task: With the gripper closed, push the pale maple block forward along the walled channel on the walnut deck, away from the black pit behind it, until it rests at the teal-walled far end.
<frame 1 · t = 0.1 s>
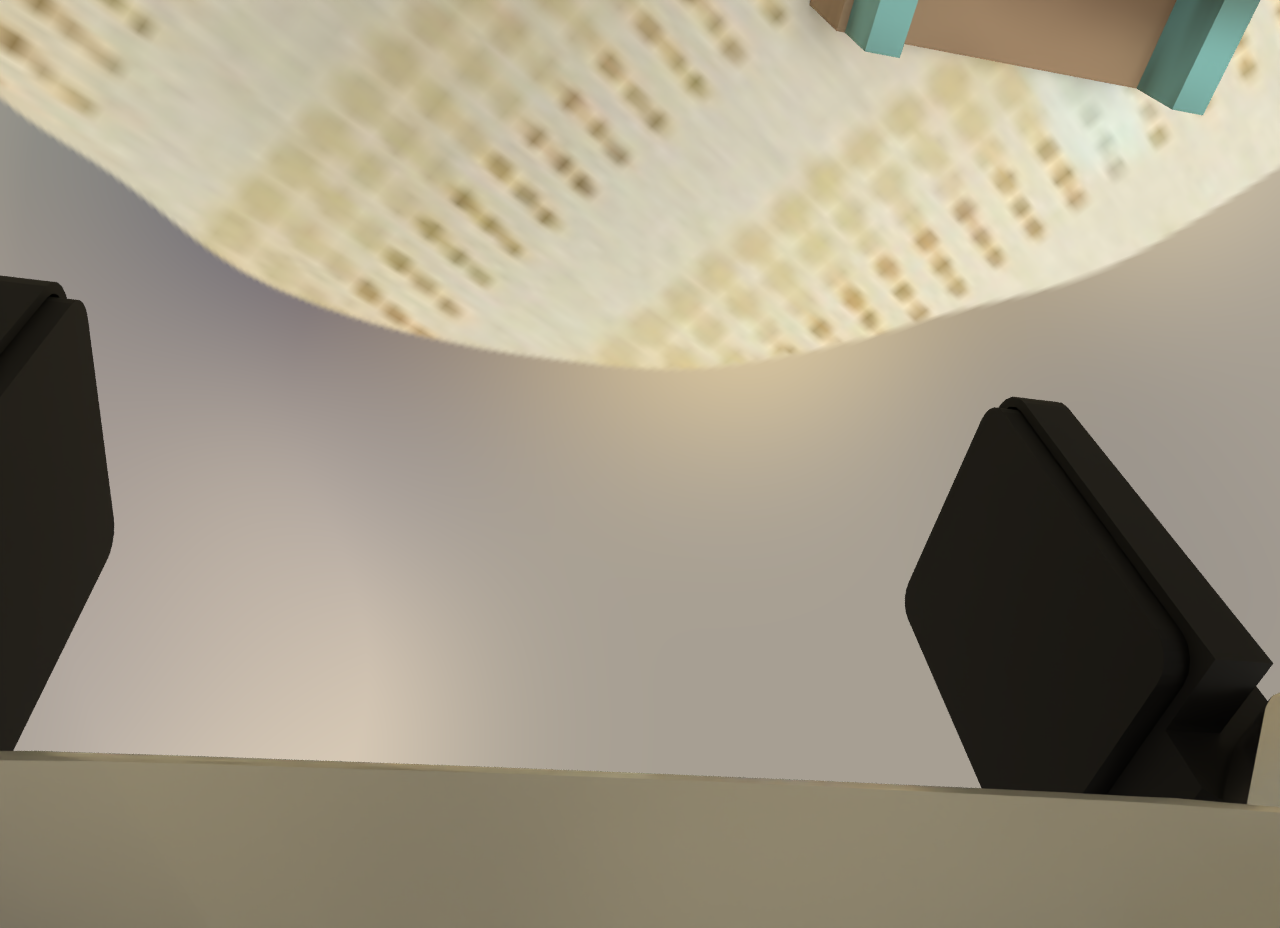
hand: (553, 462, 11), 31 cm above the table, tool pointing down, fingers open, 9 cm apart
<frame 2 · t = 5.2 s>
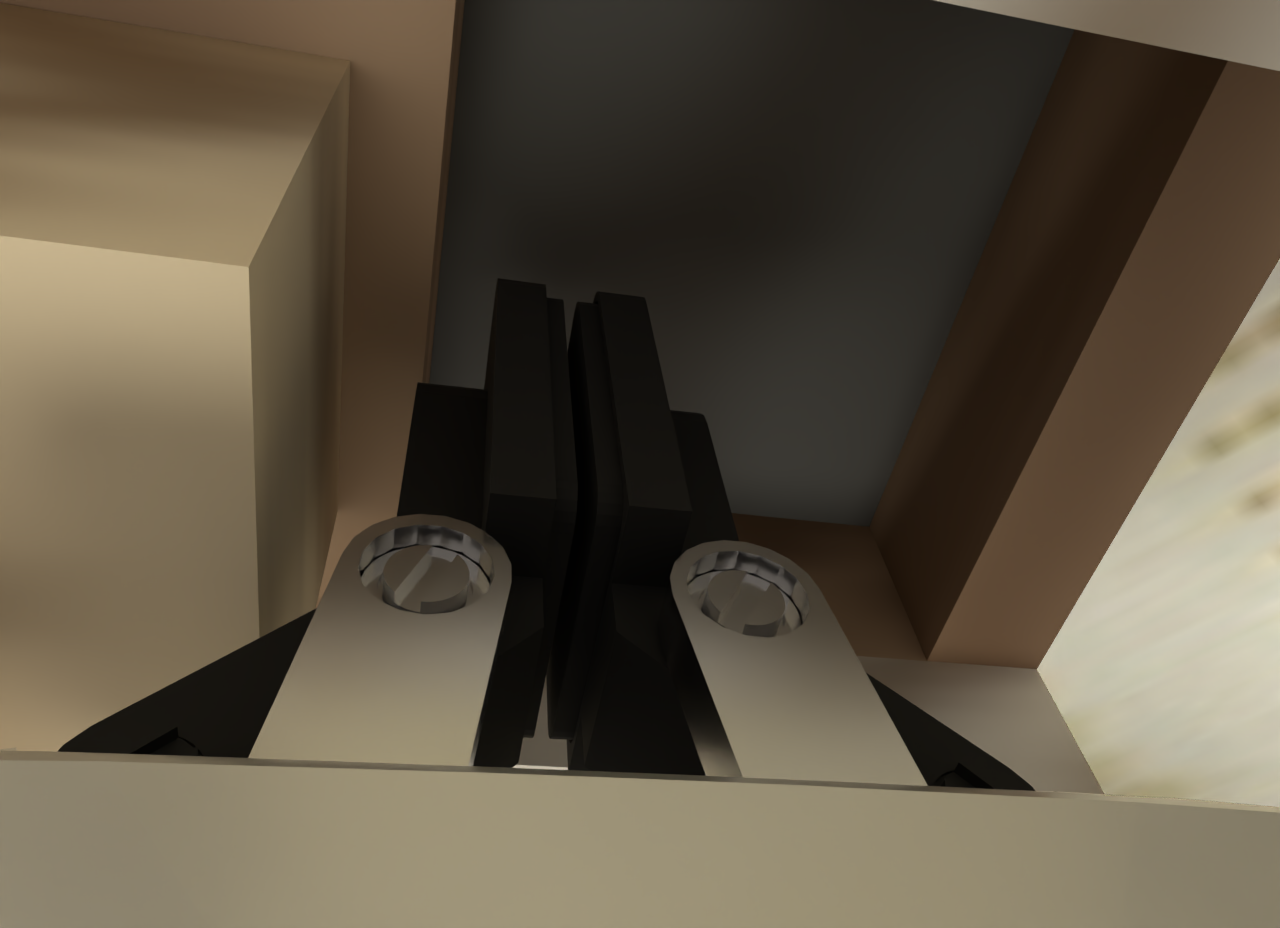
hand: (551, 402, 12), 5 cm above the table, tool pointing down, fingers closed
maple block: (73, 284, 12), point 4 cm above the table, touching gripper
trap deck: (59, 145, 15), on the table
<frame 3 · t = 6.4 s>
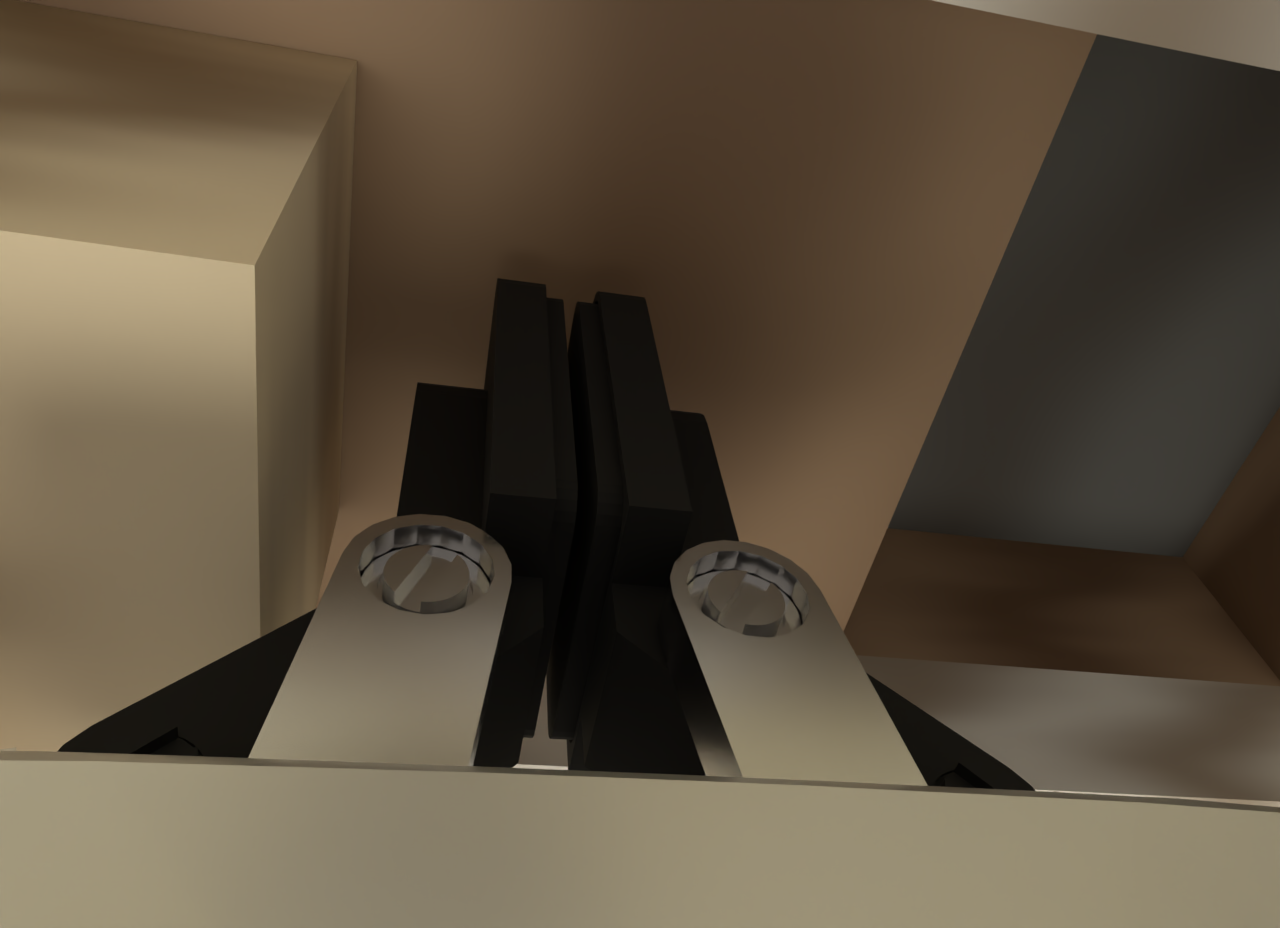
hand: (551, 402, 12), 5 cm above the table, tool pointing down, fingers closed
maple block: (78, 280, 12), point 4 cm above the table, touching gripper
trap deck: (535, 217, 16), on the table
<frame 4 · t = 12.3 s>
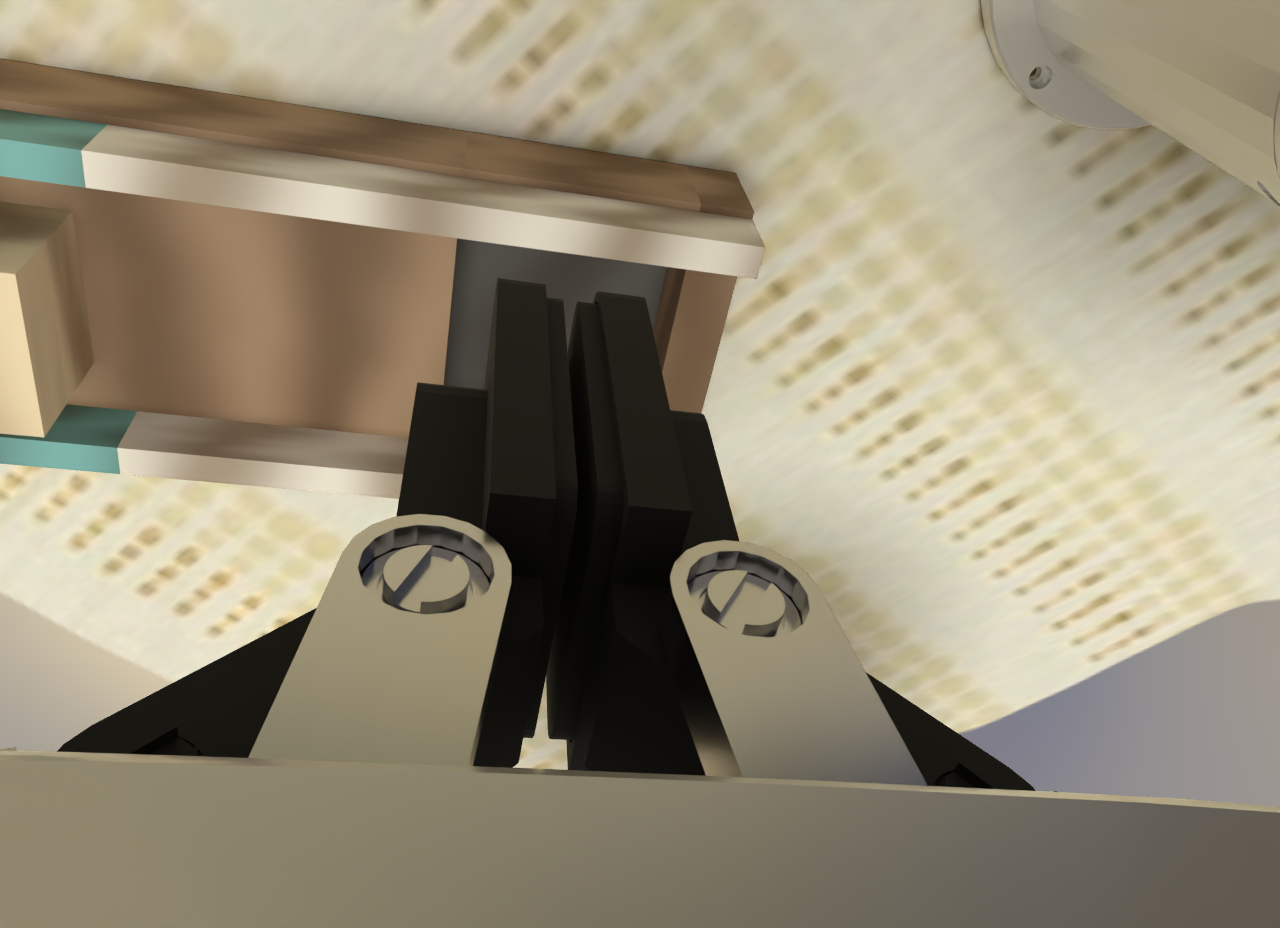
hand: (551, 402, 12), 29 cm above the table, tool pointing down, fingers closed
trap deck: (315, 269, 41), on the table
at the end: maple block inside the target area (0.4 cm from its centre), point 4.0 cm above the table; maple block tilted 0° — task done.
